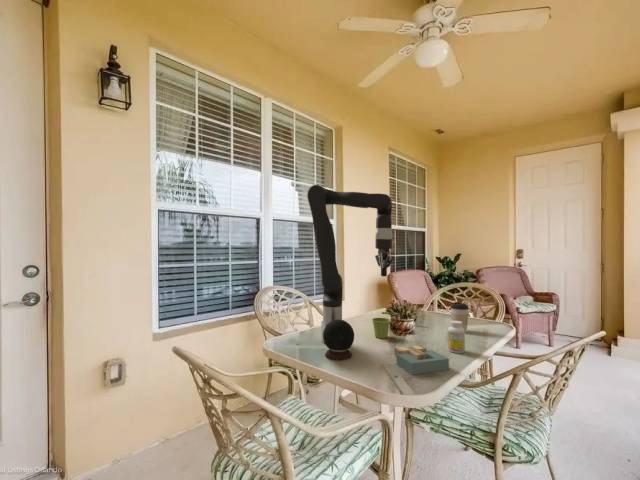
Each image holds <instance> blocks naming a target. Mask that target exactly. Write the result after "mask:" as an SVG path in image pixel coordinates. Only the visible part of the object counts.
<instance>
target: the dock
mask: <svg viewBox="0 0 640 480" xmlns="http://www.w3.org/2000/svg"><path fill="white" fill-rule="evenodd" d="M422 352H423V353H425V354H426V359H424V360H418V359H416V358H414V357H413V356H411V355H409V354H408V353H403V354H397V362H396V365H397V366H398V367H399V368H400V369H402V370H404V371H405V372H407V373H408V374H410V375H411V376H412V375H418V374H419V375H420V374H424V373H432V372H433V373H434V372H439V371H441V370H442V371H447V370H446V369H450V361H449V360H450V358H448V357H447V356H444V355H443V354H441V353H438V352H437V351H434V350H432V349H431V350H426V351H422Z"/></svg>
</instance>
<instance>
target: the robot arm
mask: <svg viewBox="0 0 640 480" xmlns="http://www.w3.org/2000/svg"><path fill="white" fill-rule="evenodd" d="M306 198H307V201H308V205H309V209H310V212H311V217H312V225H313V232H314V238H315V246H316V250H317V255H318V258H319V263H320V271H321V284H322V287H323V296H322V320H321V342H323V343H324V340H323V331H324V328H325V327H326V325H327V324H328V323H329V322H331V321H333V320H337V319H339V320H343V287H344V286H343V277H342V276H341V274H340V272H339V270H338V265H337V259H336V257H337V256H336V255H337V254H336V253H337V252H336V251H337V250H336V248H337V247H336V246H337V245H336V239H335V238H336V237H335V232H334V229H333V225H332V223H331V221H330V217H329V216H328V215H329V214H328V212H327V205H335V206H336V205H337V206H338V205H339V206H346V207H351V208H353V207H354V208H360V209H369V208H370V209H376V219H375V235H374V236H375V237H374V238H375V249H378V250H377V255H375V260H376V263H377V265H378V267H379V268H380V276H381V277H387V276H388V268H390V267H391V264H392V263H393V259H394V256H393V255H391V249H393V231H392V230H393V229H392V228H393V227H392V224H393V223H392V222H393V221H392V212H393V211H392V210H393V209H392V208H393V203H392V201H393V200H392V199H391V197H390V195H388V194H385V193H368V192H360V191H359V192H358V191H334V190H330V189H326V187H324V186H322V185H319V184H313V185H311V186H310V187H309V188H308V190H307V193H306Z"/></svg>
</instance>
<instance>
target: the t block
mask: <svg viewBox="0 0 640 480" xmlns="http://www.w3.org/2000/svg"><path fill="white" fill-rule="evenodd" d="M393 350H394V351H393V353H394V354H393V355H394V357H393V358H394V361H395V362H396V363H397V354H403V353H408V354H409V355H411V356H413V357H414V358H416V359H418V360H424V359H426V354H425V353H423V352H422V351H427V347H425V346H423V345H411V346H409V345H408V346H398V347H394V349H393Z"/></svg>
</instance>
